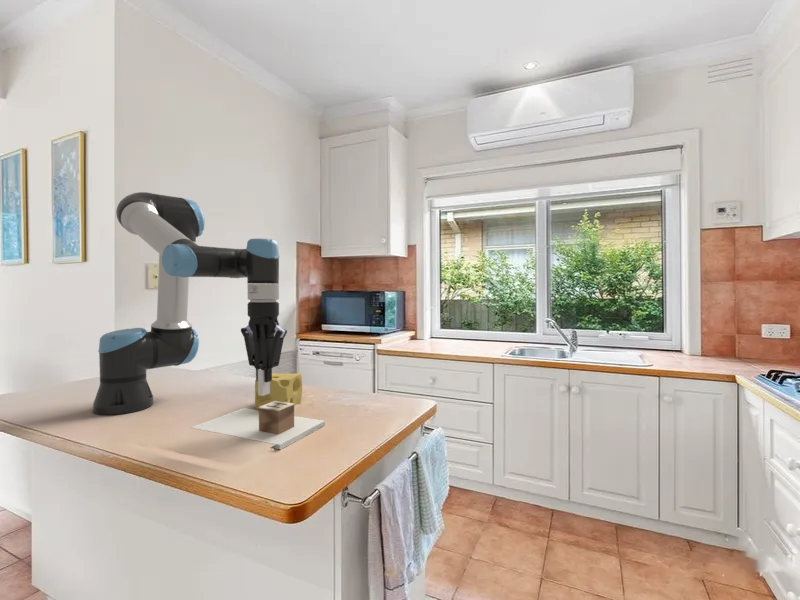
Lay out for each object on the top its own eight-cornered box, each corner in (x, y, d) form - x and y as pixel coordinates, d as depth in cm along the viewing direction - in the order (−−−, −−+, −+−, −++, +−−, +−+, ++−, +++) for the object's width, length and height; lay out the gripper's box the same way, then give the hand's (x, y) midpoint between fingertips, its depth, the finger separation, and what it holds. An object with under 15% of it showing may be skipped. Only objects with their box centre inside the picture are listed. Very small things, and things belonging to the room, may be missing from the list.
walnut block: (278, 409, 100) (278, 434, 100) (294, 403, 105) (294, 426, 105) (258, 406, 102) (258, 431, 102) (275, 400, 108) (275, 423, 108)
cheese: (287, 415, 119) (286, 380, 118) (252, 412, 121) (252, 378, 120) (302, 405, 129) (302, 373, 128) (270, 403, 131) (270, 371, 131)
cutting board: (190, 432, 105) (190, 427, 105) (243, 412, 121) (243, 408, 121) (280, 450, 94) (280, 444, 94) (324, 425, 110) (324, 420, 110)
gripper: (232, 301, 103) (233, 395, 104) (274, 302, 98) (274, 401, 99) (253, 300, 110) (254, 388, 111) (294, 301, 105) (294, 393, 106)
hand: (264, 394), depth 105 cm, fingers closed
